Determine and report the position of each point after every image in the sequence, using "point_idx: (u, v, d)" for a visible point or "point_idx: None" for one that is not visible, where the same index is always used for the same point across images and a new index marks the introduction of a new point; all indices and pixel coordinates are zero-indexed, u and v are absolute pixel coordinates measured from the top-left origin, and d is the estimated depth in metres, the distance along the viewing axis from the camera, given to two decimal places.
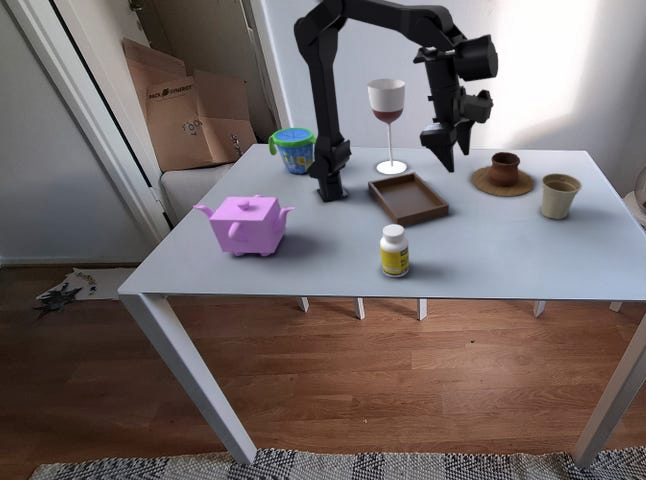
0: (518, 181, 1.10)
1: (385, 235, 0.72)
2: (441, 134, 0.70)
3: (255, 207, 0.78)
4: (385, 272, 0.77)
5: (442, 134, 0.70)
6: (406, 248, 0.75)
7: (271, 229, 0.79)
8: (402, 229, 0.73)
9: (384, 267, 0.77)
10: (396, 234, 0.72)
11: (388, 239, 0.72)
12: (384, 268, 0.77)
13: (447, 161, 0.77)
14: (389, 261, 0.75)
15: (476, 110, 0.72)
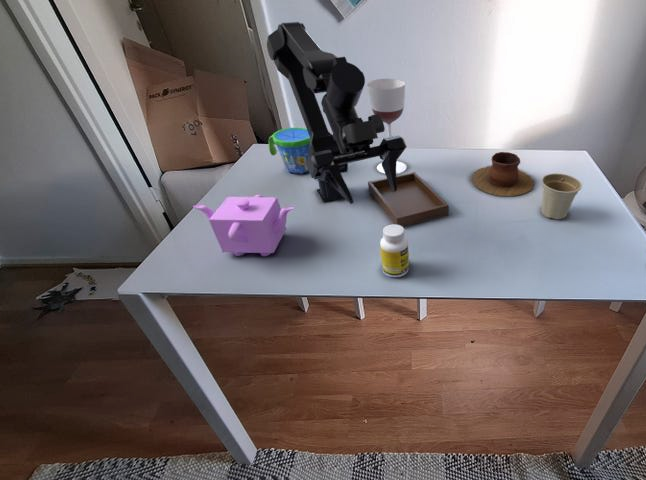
0: (518, 181, 1.10)
1: (385, 235, 0.72)
2: (310, 159, 0.70)
3: (255, 207, 0.78)
4: (385, 272, 0.77)
5: (310, 158, 0.69)
6: (406, 248, 0.75)
7: (271, 229, 0.79)
8: (402, 229, 0.73)
9: (384, 267, 0.77)
10: (396, 234, 0.72)
11: (388, 239, 0.72)
12: (384, 268, 0.77)
13: (341, 191, 0.73)
14: (389, 261, 0.75)
15: (347, 131, 0.68)
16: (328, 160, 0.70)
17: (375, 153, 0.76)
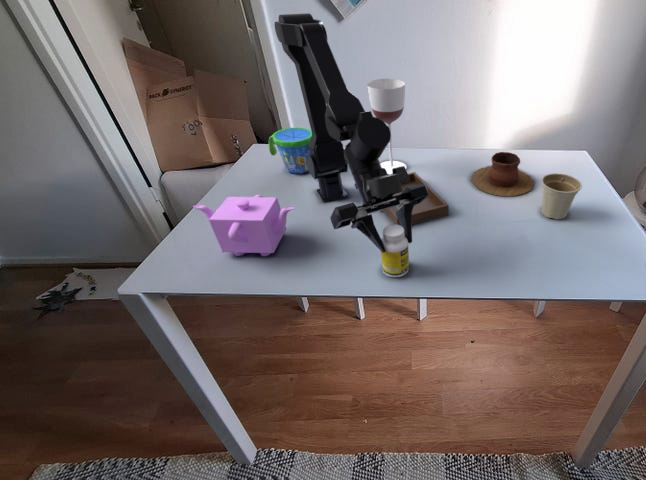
0: (518, 181, 1.10)
1: (385, 235, 0.72)
2: (333, 213, 0.68)
3: (255, 207, 0.78)
4: (385, 272, 0.77)
5: (334, 212, 0.68)
6: (406, 248, 0.75)
7: (271, 229, 0.79)
8: (402, 229, 0.73)
9: (384, 267, 0.77)
10: (396, 234, 0.72)
11: (388, 239, 0.72)
12: (384, 268, 0.77)
13: (373, 240, 0.72)
14: (389, 261, 0.75)
15: (372, 185, 0.67)
16: (352, 214, 0.68)
17: (398, 202, 0.75)
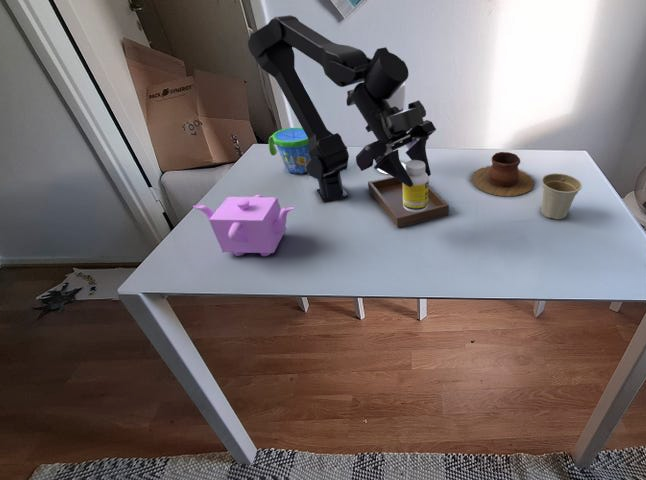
0: (518, 181, 1.10)
1: (410, 169, 0.77)
2: (365, 151, 0.71)
3: (255, 207, 0.78)
4: (409, 208, 0.82)
5: (365, 150, 0.71)
6: (428, 180, 0.80)
7: (271, 229, 0.79)
8: (423, 162, 0.79)
9: (409, 203, 0.81)
10: (421, 167, 0.77)
11: (414, 173, 0.77)
12: (408, 204, 0.81)
13: (400, 175, 0.77)
14: (415, 195, 0.80)
15: (398, 119, 0.71)
16: (383, 150, 0.72)
17: (410, 139, 0.80)
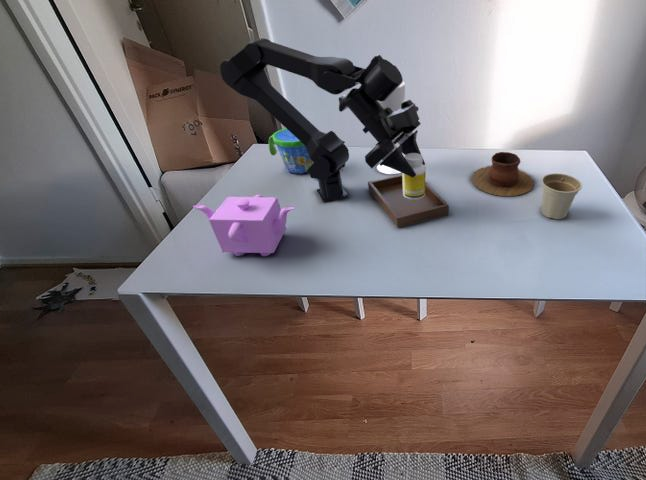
0: (518, 181, 1.10)
1: (412, 161, 0.86)
2: (377, 149, 0.78)
3: (255, 207, 0.78)
4: (412, 197, 0.91)
5: (378, 149, 0.78)
6: None
7: (271, 229, 0.79)
8: (419, 154, 0.88)
9: (411, 192, 0.90)
10: (420, 158, 0.87)
11: (415, 164, 0.86)
12: (411, 193, 0.90)
13: (404, 168, 0.85)
14: (417, 184, 0.89)
15: (400, 117, 0.80)
16: (392, 146, 0.80)
17: (402, 135, 0.89)
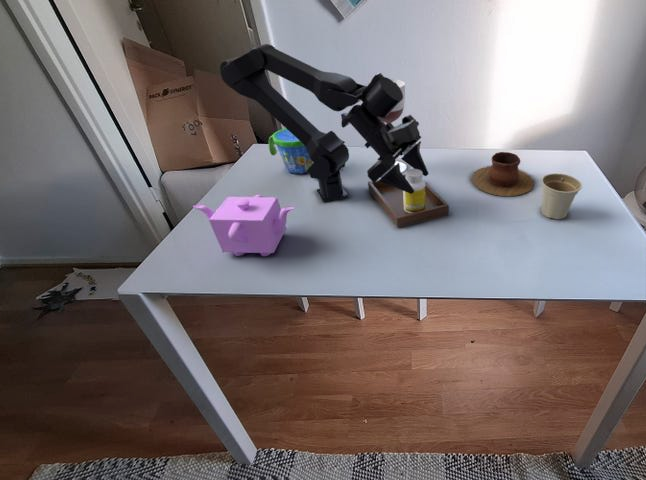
0: (518, 181, 1.10)
1: (412, 177, 0.89)
2: (379, 164, 0.80)
3: (255, 207, 0.78)
4: (413, 211, 0.94)
5: (380, 164, 0.80)
6: None
7: (271, 229, 0.79)
8: (419, 170, 0.91)
9: (412, 207, 0.93)
10: (420, 174, 0.89)
11: (415, 180, 0.89)
12: (412, 208, 0.93)
13: (402, 185, 0.86)
14: (418, 199, 0.92)
15: (401, 133, 0.82)
16: (393, 161, 0.82)
17: (403, 149, 0.91)
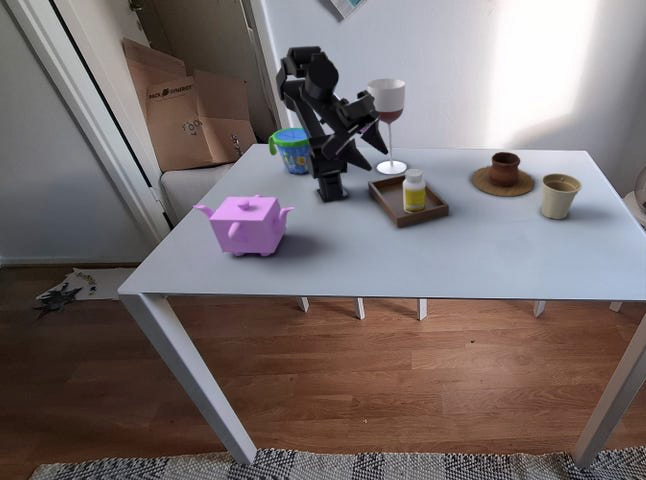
0: (518, 181, 1.10)
1: (412, 177, 0.89)
2: (332, 139, 0.78)
3: (255, 207, 0.78)
4: (413, 211, 0.94)
5: (333, 139, 0.78)
6: None
7: (271, 229, 0.79)
8: (419, 170, 0.91)
9: (412, 207, 0.93)
10: (420, 174, 0.89)
11: (415, 180, 0.89)
12: (412, 208, 0.93)
13: (359, 162, 0.84)
14: (418, 199, 0.92)
15: (355, 107, 0.80)
16: (347, 136, 0.79)
17: (361, 126, 0.88)
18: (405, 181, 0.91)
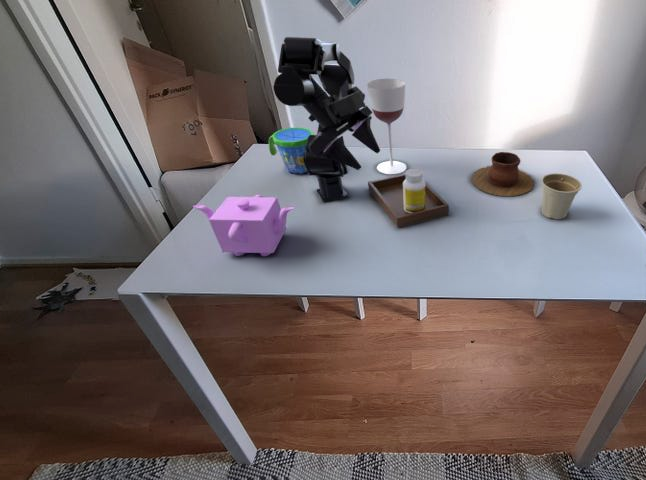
0: (518, 181, 1.10)
1: (412, 177, 0.89)
2: (319, 137, 0.76)
3: (255, 207, 0.78)
4: (413, 211, 0.94)
5: (319, 136, 0.76)
6: None
7: (271, 229, 0.79)
8: (419, 170, 0.91)
9: (412, 207, 0.93)
10: (420, 174, 0.89)
11: (415, 180, 0.89)
12: (412, 208, 0.93)
13: (348, 160, 0.82)
14: (418, 199, 0.92)
15: (343, 104, 0.78)
16: (335, 134, 0.78)
17: (352, 124, 0.87)
18: (405, 181, 0.91)
